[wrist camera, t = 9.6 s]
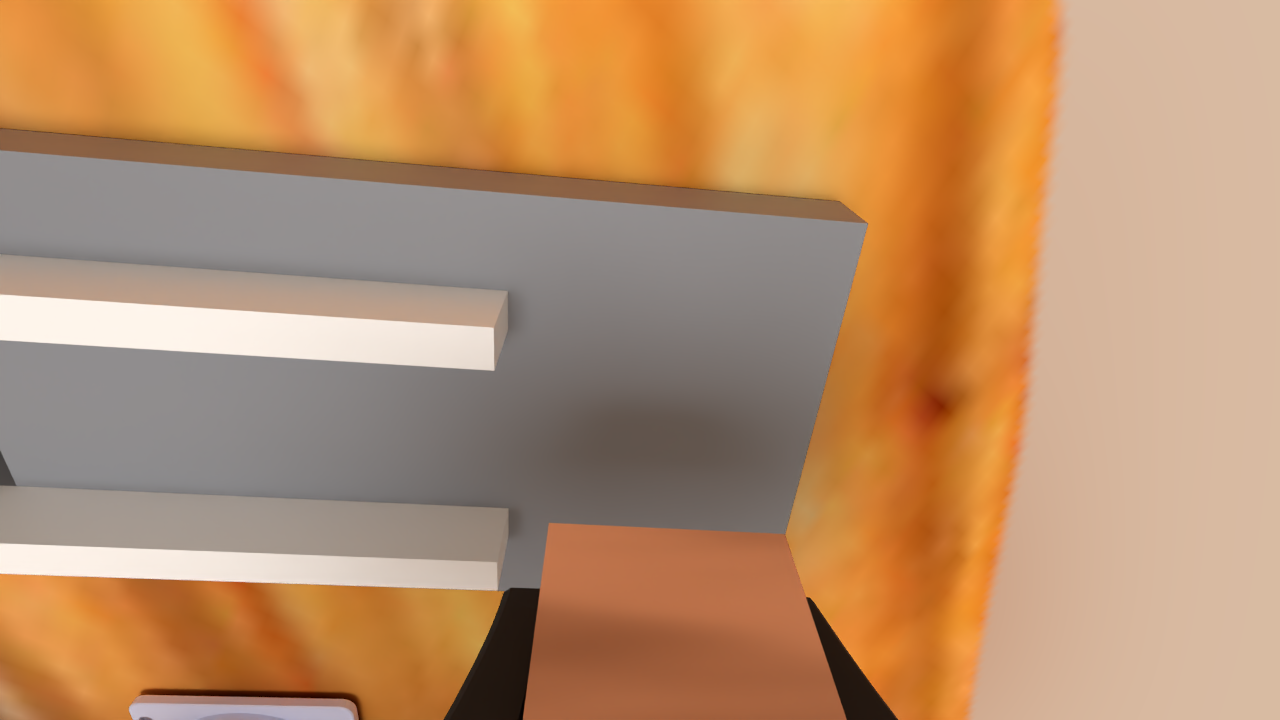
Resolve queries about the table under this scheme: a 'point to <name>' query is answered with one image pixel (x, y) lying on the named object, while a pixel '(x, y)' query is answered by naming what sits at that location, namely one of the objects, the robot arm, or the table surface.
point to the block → (674, 629)
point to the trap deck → (434, 396)
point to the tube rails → (238, 525)
